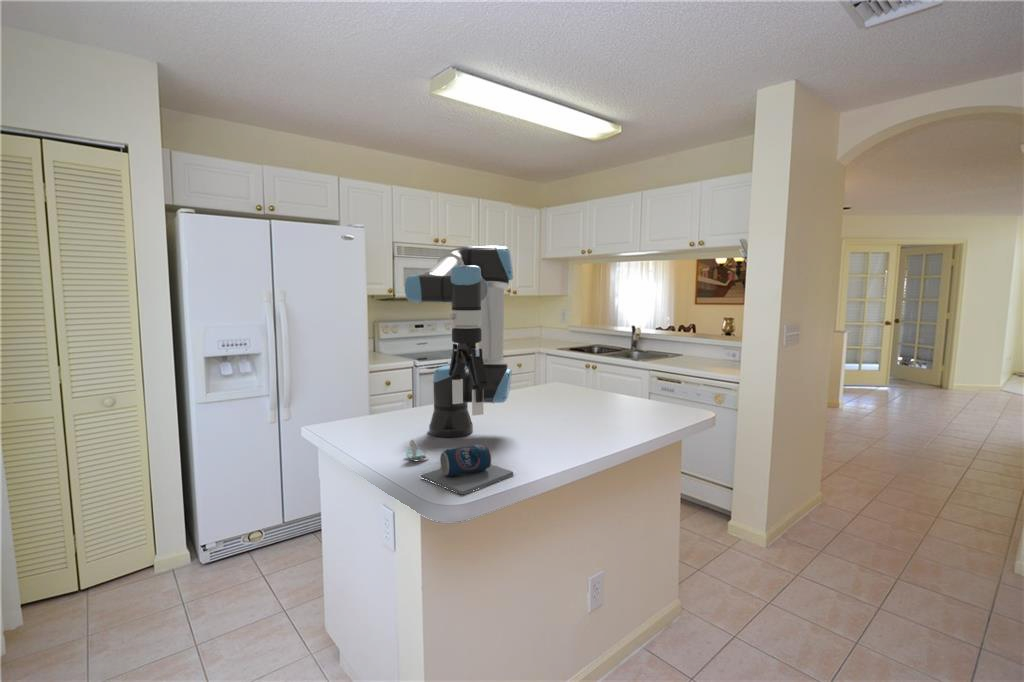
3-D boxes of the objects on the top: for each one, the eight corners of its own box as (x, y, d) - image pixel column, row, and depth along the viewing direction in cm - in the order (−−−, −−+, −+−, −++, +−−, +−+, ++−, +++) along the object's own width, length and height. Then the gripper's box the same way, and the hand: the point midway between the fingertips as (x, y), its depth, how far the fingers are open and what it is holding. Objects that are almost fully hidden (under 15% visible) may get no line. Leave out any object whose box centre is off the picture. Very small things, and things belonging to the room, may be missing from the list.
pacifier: (423, 454, 148) (403, 457, 144) (423, 434, 147) (404, 436, 144) (432, 462, 141) (411, 464, 138) (432, 440, 141) (412, 443, 138)
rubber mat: (421, 478, 128) (421, 474, 127) (472, 461, 141) (472, 457, 141) (462, 495, 117) (462, 491, 117) (513, 475, 130) (513, 471, 130)
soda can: (446, 449, 123) (489, 442, 129) (438, 451, 129) (480, 444, 135) (449, 477, 122) (493, 469, 127) (441, 478, 128) (483, 470, 133)
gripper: (436, 324, 134) (437, 400, 137) (472, 331, 112) (472, 421, 114) (462, 323, 138) (462, 397, 140) (501, 329, 116) (501, 418, 118)
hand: (467, 408), depth 127 cm, fingers open, 13 cm apart
